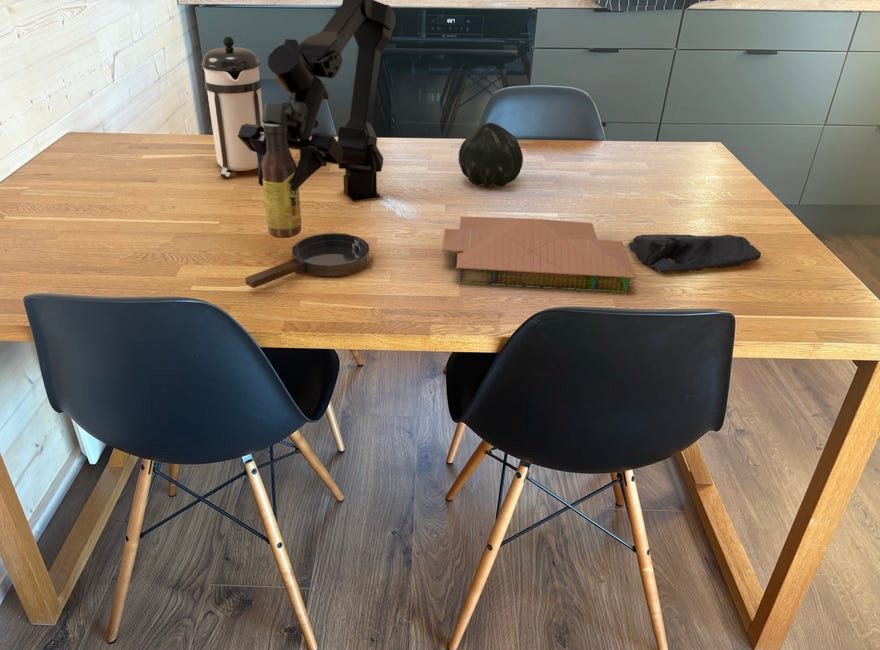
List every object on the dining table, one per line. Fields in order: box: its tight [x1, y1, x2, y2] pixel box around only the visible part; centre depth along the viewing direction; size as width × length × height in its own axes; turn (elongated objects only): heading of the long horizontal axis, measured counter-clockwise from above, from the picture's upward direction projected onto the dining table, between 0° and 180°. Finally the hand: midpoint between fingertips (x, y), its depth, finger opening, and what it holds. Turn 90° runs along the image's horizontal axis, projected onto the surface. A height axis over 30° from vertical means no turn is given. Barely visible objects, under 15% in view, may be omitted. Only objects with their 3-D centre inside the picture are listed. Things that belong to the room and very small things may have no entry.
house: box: [441, 216, 637, 293], centre depth 128 cm, size 23×33×8 cm
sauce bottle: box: [262, 121, 302, 239], centre depth 124 cm, size 6×6×20 cm
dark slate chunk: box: [628, 234, 762, 274], centre depth 131 cm, size 15×22×5 cm
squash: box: [458, 122, 524, 188], centre depth 162 cm, size 14×15×15 cm
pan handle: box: [244, 258, 306, 289], centre depth 121 cm, size 11×3×2 cm, turn 135°
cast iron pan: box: [291, 232, 371, 277], centre depth 128 cm, size 14×14×2 cm
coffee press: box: [201, 36, 264, 179], centre depth 164 cm, size 17×16×30 cm
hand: (276, 187), depth 123 cm, fingers closed on sauce bottle, 6 cm apart
